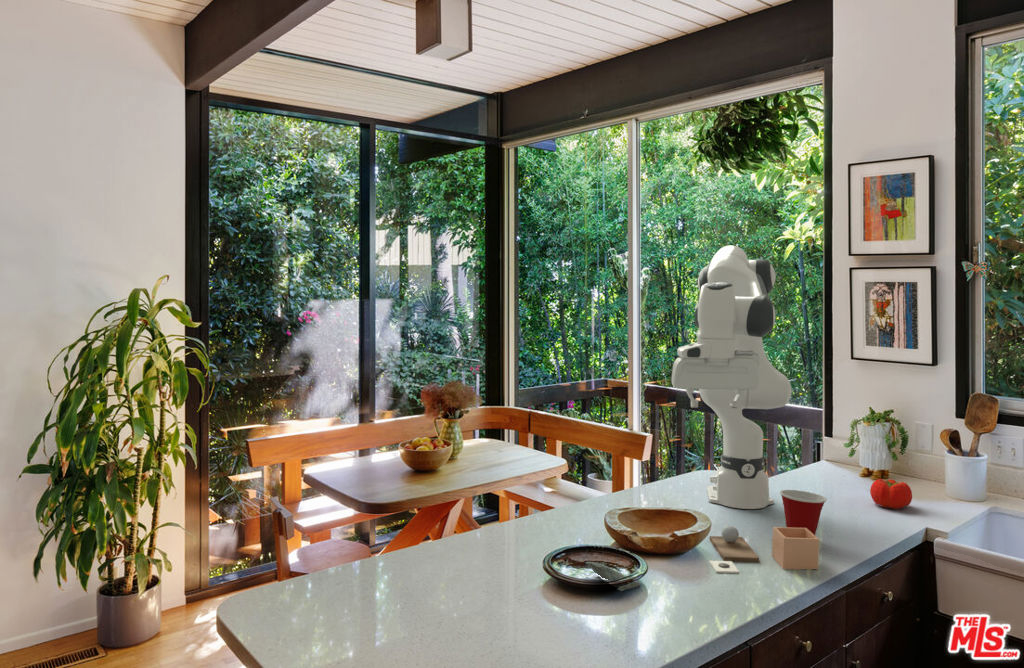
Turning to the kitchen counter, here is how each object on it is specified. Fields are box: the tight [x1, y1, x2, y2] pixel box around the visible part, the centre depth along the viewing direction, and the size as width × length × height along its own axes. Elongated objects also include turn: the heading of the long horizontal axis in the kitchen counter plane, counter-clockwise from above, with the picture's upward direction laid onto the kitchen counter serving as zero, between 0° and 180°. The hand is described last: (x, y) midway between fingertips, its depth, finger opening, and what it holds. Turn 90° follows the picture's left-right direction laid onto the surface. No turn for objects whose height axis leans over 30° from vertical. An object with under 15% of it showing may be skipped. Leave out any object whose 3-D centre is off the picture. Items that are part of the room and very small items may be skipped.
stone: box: [584, 561, 641, 592], centre depth 151 cm, size 11×4×10 cm
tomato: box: [869, 478, 913, 510], centre depth 208 cm, size 11×11×8 cm
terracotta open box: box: [771, 526, 820, 571], centre depth 163 cm, size 8×8×7 cm
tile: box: [709, 560, 740, 574], centre depth 160 cm, size 6×5×1 cm
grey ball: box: [721, 525, 740, 543], centre depth 173 cm, size 4×4×4 cm
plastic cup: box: [779, 489, 827, 536], centre depth 178 cm, size 11×11×12 cm
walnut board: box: [709, 535, 760, 563], centre depth 171 cm, size 14×8×1 cm, turn 178°
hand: (714, 407), depth 171 cm, fingers open, 8 cm apart
